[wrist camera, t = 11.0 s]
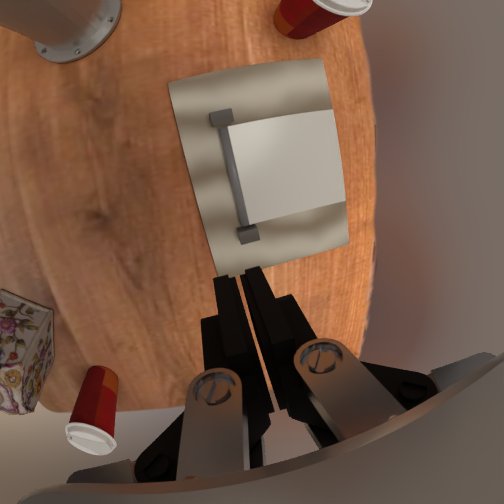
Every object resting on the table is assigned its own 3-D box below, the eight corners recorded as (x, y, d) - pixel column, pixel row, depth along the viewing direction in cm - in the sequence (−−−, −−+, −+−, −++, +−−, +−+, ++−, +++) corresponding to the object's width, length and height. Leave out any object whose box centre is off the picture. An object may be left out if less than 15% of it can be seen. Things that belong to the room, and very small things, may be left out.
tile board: (168, 84, 29) (165, 80, 26) (318, 60, 31) (328, 55, 28) (219, 276, 40) (221, 287, 37) (345, 240, 42) (355, 249, 39)
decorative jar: (5, 337, 37) (-33, 405, 21) (-1, 286, 34) (-56, 354, 17) (57, 359, 41) (28, 437, 25) (56, 309, 37) (12, 393, 21)
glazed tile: (218, 128, 30) (333, 109, 31) (217, 128, 31) (329, 109, 32) (241, 227, 35) (346, 200, 36) (240, 224, 36) (342, 198, 38)
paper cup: (330, 18, 28) (389, -17, 16) (306, 57, 30) (363, 27, 18) (280, -11, 26) (321, -62, 13) (253, 27, 28) (286, -22, 15)
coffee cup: (79, 380, 44) (62, 444, 30) (86, 354, 41) (65, 423, 28) (119, 396, 46) (110, 461, 33) (130, 372, 44) (120, 443, 31)
